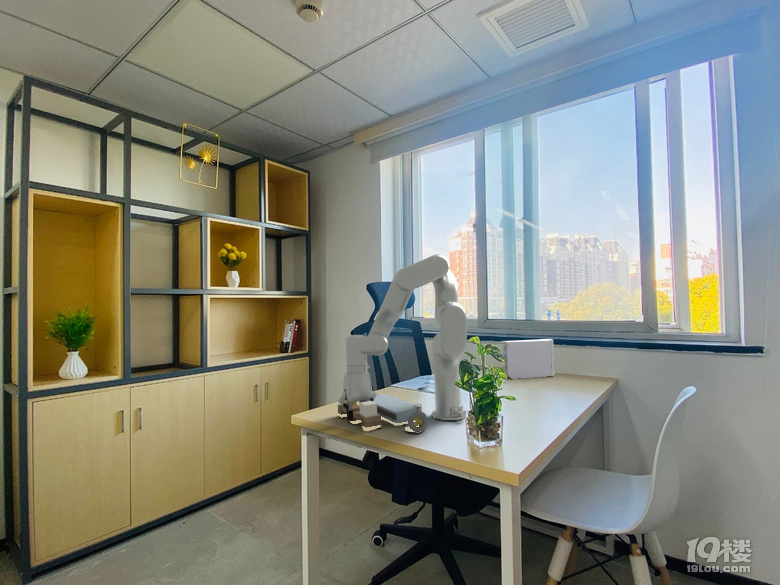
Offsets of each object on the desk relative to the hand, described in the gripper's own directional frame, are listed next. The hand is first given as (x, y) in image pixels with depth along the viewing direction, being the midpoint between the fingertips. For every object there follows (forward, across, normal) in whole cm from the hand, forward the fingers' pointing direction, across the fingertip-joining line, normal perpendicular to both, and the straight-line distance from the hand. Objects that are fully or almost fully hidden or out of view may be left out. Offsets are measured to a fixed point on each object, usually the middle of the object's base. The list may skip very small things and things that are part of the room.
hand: (358, 418), depth 139 cm
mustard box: (-3, 0, -8) cm, 8 cm away
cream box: (-3, 0, +8) cm, 8 cm away
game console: (+2, -111, -10) cm, 112 cm away
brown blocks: (+1, 0, 0) cm, 1 cm away
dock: (+1, -14, 0) cm, 14 cm away
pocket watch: (+2, -10, +21) cm, 23 cm away
